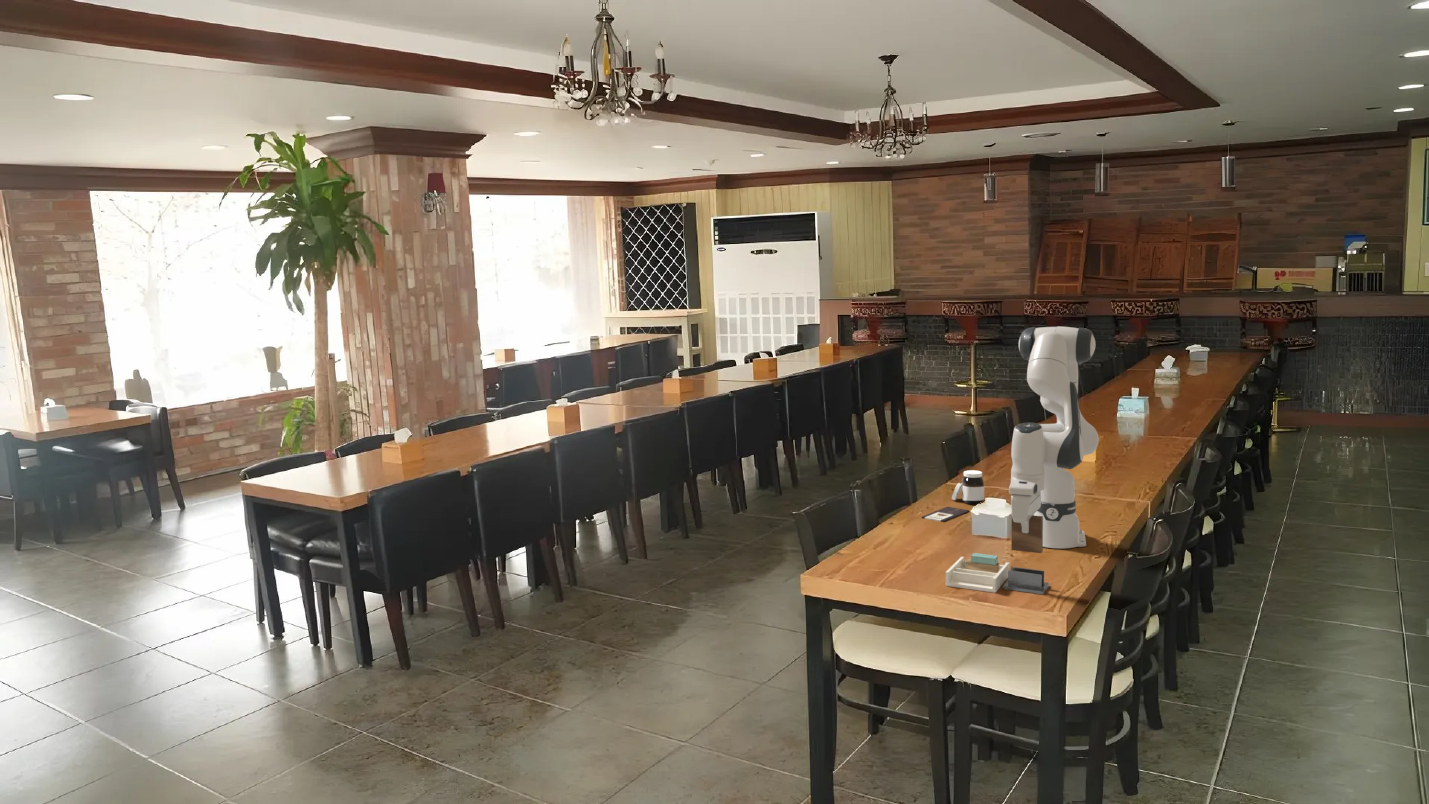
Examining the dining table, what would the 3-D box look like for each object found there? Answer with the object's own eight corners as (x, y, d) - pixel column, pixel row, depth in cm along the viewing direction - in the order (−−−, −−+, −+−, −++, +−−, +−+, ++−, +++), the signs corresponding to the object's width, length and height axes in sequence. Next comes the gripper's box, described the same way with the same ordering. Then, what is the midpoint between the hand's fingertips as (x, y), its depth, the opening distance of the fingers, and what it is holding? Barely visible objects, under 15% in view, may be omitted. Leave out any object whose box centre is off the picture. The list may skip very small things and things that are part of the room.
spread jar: (986, 505, 361) (986, 474, 359) (955, 506, 361) (956, 475, 360) (978, 497, 373) (978, 468, 371) (948, 498, 373) (949, 468, 372)
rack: (961, 569, 288) (961, 556, 287) (1009, 575, 281) (1009, 562, 280) (945, 585, 274) (945, 572, 273) (995, 592, 267) (995, 578, 266)
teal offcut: (973, 559, 284) (973, 552, 284) (997, 562, 280) (997, 555, 280) (970, 562, 281) (971, 555, 281) (995, 565, 278) (995, 558, 278)
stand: (1009, 580, 277) (1009, 564, 276) (1049, 585, 271) (1049, 569, 270) (1002, 588, 270) (1002, 572, 269) (1043, 594, 264) (1043, 577, 264)
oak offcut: (968, 568, 285) (968, 559, 284) (999, 572, 280) (999, 562, 280) (965, 571, 282) (965, 561, 282) (996, 575, 278) (996, 565, 277)
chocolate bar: (969, 510, 352) (943, 520, 340) (969, 512, 353) (943, 523, 340) (947, 506, 359) (921, 516, 346) (947, 509, 359) (921, 519, 346)
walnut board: (1013, 548, 272) (1013, 513, 270) (1042, 551, 268) (1042, 516, 266) (1011, 550, 270) (1011, 515, 269) (1041, 553, 266) (1041, 517, 265)
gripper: (1024, 474, 277) (1023, 520, 279) (1007, 488, 259) (1006, 539, 261) (1047, 475, 274) (1046, 523, 275) (1031, 491, 256) (1030, 541, 258)
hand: (1027, 531), depth 268 cm, fingers closed on walnut board, 2 cm apart
